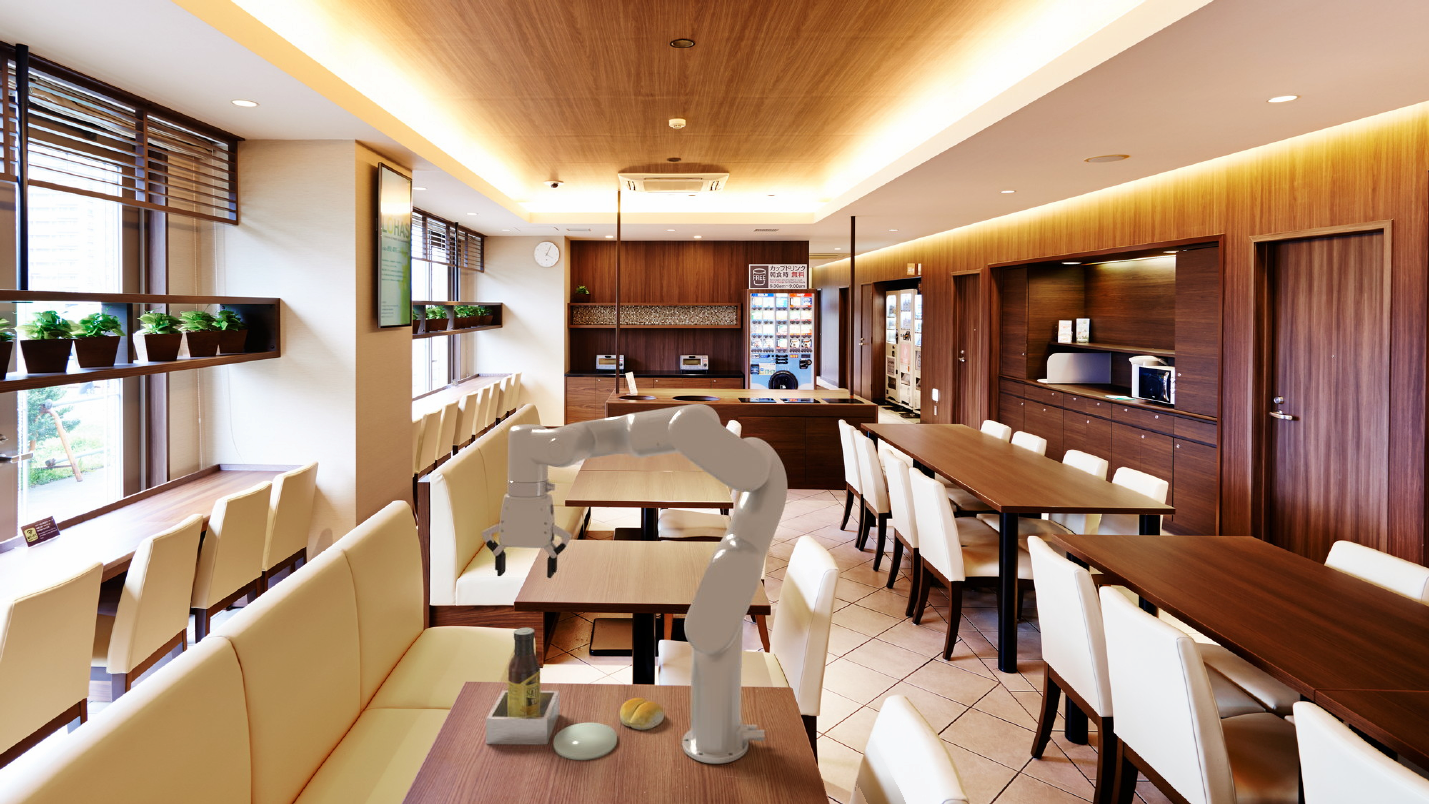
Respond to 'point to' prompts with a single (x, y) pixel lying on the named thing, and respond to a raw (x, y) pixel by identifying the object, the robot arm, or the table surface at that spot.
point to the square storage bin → (522, 722)
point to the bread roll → (641, 713)
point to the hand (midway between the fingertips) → (526, 575)
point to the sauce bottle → (524, 677)
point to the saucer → (585, 741)
